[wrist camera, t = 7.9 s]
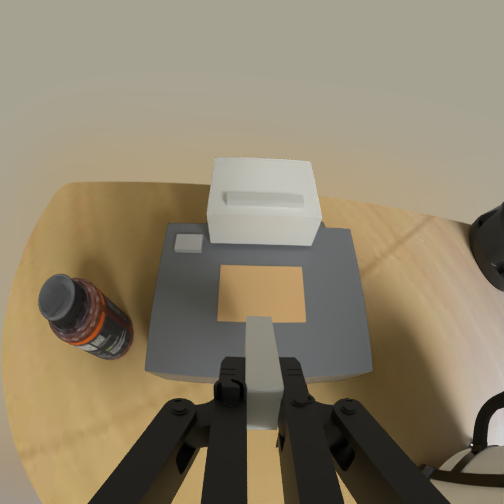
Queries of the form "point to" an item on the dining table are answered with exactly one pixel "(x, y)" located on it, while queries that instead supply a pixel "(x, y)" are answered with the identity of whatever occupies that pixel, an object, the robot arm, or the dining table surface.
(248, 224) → the hatch door
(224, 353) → the gray box
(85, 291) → the supplement bottle
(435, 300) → the dining table surface
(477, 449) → the coffee press
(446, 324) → the dining table surface
